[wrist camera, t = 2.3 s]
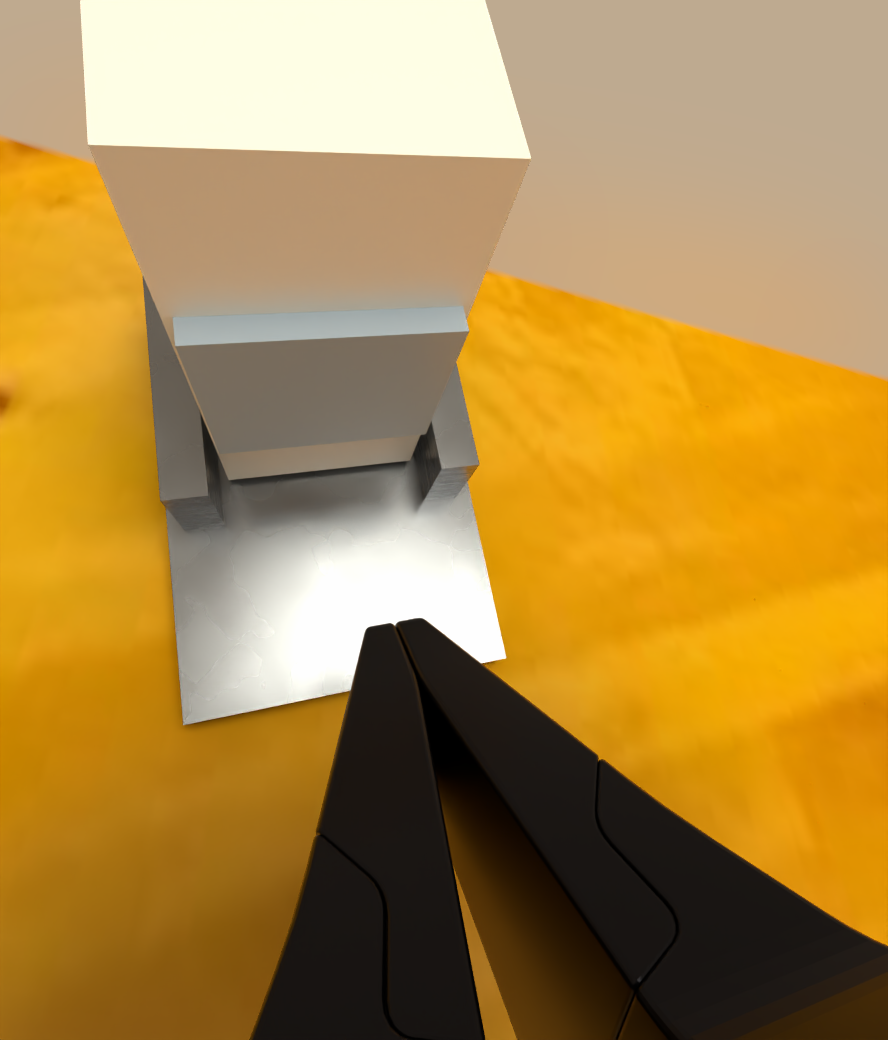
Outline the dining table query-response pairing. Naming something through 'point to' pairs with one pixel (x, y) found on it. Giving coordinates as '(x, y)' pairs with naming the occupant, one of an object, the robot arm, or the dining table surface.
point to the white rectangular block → (307, 206)
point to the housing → (310, 554)
